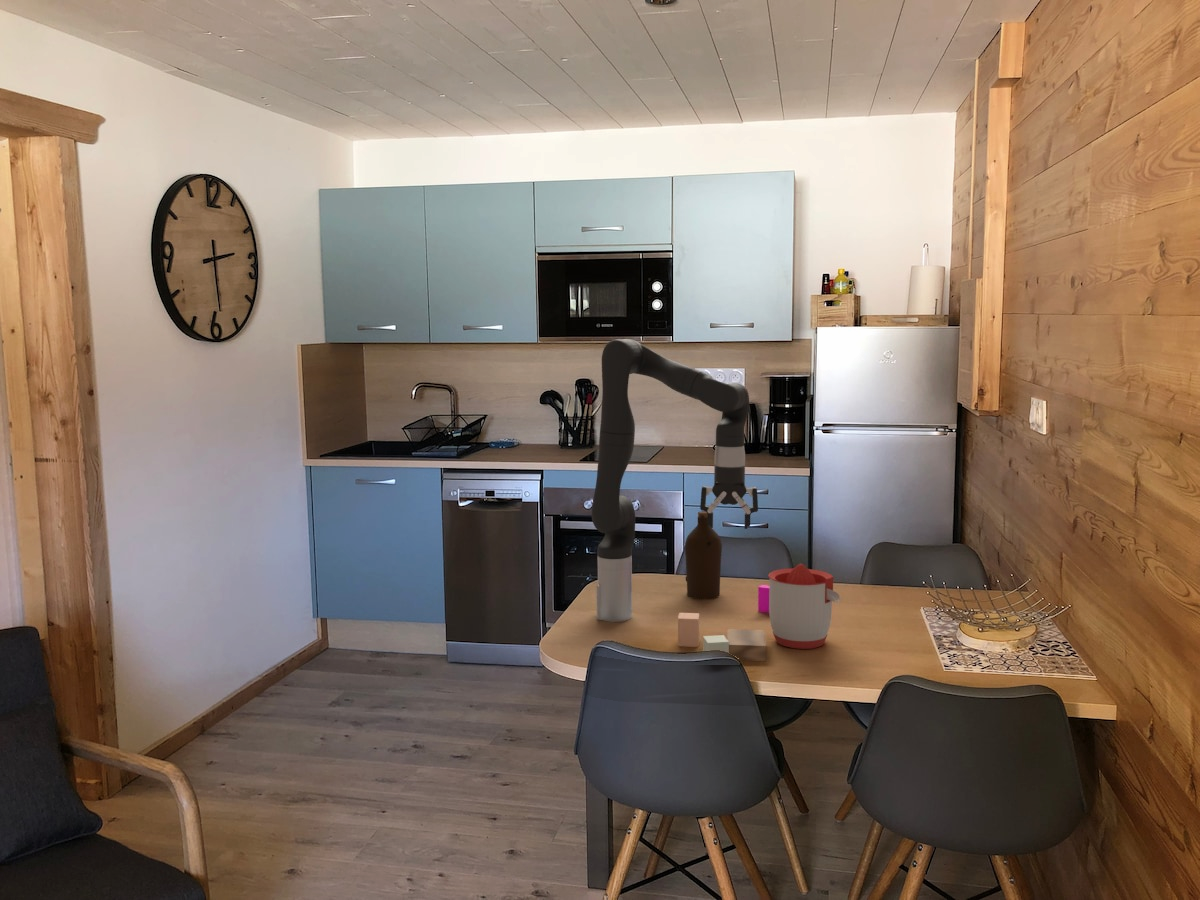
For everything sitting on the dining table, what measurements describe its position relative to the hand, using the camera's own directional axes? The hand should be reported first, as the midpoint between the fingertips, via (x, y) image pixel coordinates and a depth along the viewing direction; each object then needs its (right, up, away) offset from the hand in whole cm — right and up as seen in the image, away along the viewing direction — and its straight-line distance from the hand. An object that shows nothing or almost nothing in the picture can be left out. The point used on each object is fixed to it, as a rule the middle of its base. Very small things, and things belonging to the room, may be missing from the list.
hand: (728, 527), depth 237 cm
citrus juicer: (+18, -28, -3) cm, 34 cm away
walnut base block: (+3, -29, -9) cm, 31 cm away
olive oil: (-2, -24, +40) cm, 46 cm away
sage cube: (-5, -30, -14) cm, 33 cm away
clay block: (-10, -28, -2) cm, 30 cm away
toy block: (+17, -25, +28) cm, 41 cm away
